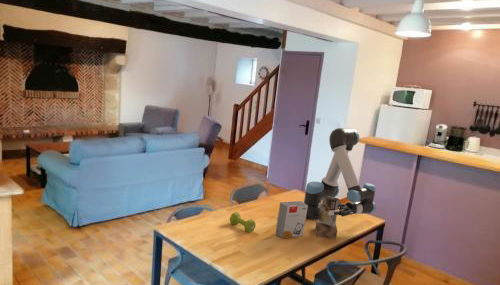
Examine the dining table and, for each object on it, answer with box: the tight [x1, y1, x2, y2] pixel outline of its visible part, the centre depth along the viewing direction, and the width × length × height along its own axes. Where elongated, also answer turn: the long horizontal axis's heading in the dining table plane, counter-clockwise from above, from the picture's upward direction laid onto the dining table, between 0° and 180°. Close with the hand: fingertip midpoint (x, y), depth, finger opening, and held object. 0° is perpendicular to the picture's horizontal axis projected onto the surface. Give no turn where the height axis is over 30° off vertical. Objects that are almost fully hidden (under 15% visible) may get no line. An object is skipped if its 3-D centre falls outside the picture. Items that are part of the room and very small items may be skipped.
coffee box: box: [318, 195, 340, 226], centre depth 218 cm, size 9×6×16 cm
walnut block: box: [314, 219, 338, 240], centre depth 220 cm, size 12×12×6 cm
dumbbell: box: [229, 212, 256, 233], centre depth 215 cm, size 16×8×7 cm, turn 47°
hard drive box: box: [275, 200, 308, 239], centre depth 212 cm, size 16×8×20 cm, turn 117°
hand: (323, 209), depth 216 cm, fingers closed on coffee box, 11 cm apart
